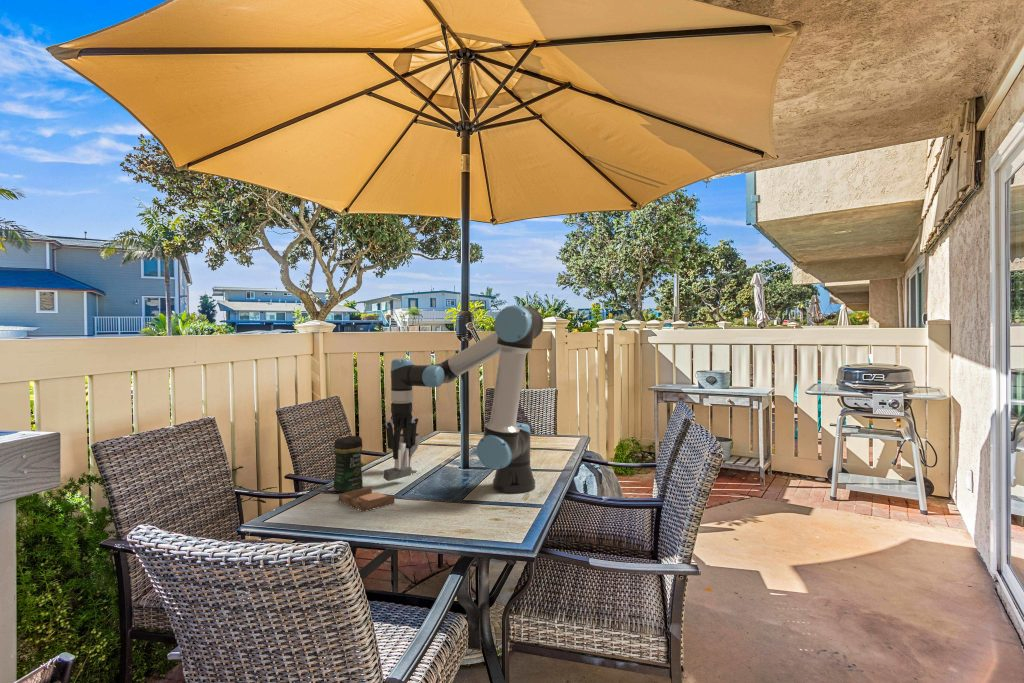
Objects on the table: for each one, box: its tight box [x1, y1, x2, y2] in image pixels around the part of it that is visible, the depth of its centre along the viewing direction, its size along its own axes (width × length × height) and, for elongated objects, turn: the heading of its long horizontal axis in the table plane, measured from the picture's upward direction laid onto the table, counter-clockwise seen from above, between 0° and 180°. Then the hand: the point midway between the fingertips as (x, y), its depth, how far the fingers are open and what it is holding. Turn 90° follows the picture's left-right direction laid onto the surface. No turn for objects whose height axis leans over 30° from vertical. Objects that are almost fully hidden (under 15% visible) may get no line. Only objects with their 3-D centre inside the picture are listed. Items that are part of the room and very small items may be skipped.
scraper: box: [383, 442, 413, 482], centre depth 198 cm, size 10×3×13 cm, turn 138°
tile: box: [357, 491, 388, 502], centre depth 180 cm, size 7×7×2 cm
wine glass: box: [400, 432, 420, 474], centre depth 216 cm, size 8×8×15 cm
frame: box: [338, 486, 395, 512], centre depth 179 cm, size 15×12×2 cm
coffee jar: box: [333, 435, 364, 493], centre depth 194 cm, size 10×8×19 cm
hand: (401, 466), depth 197 cm, fingers closed on scraper, 3 cm apart
